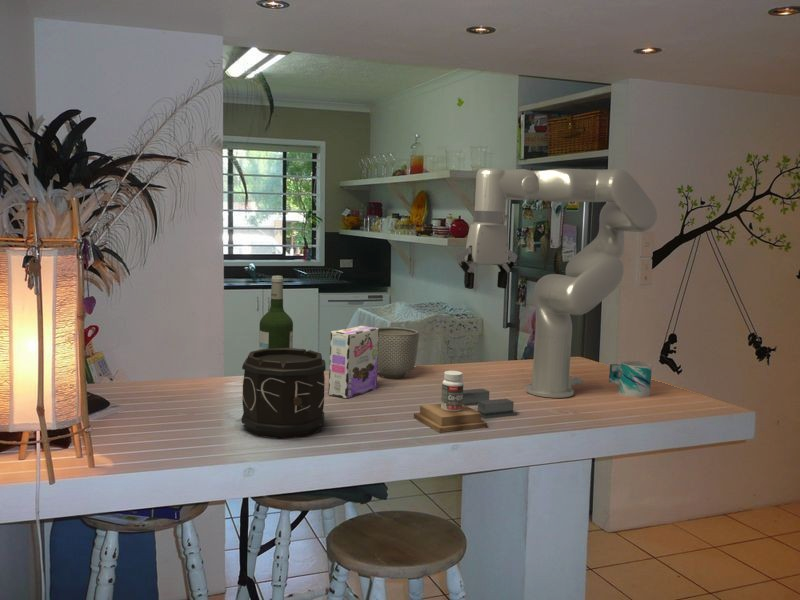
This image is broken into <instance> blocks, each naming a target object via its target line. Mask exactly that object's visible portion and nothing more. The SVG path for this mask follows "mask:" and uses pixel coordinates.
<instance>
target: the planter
mask: <svg viewBox="0 0 800 600" xmlns="http://www.w3.org/2000/svg"><path fill="white" fill-rule="evenodd" d="M378 328H379V337H378V364H377V373H378V374H379V375H380V377H382V378H385V379H392V380H393V379H402V378H405V377H406V375H407V374H408V373H410V372H411V371H412V370H414V368H415V365H416V362H417V355H418V349H419V341H420V331H418V330H417V329H414V328H410V327H401V326H398V327H397V326H384V327H383V326H381V327H378Z"/></svg>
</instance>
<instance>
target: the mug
mask: <svg viewBox="0 0 800 600" xmlns="http://www.w3.org/2000/svg"><path fill="white" fill-rule="evenodd" d="M652 373H653V364H651V363H649V362H645V361H640V360H639V361H638V360H625V361H621V362H620V364H618V363H613V364H609V373H608V374H609V375H608V376H609V378H608V382H609V383H611V384H615V385H618V394H620V395H622V396H624V397H625V396H626V397H630V398H639V399H642V398H643V399H644V398H650V394H651V385H652Z"/></svg>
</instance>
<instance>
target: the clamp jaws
mask: <svg viewBox="0 0 800 600" xmlns="http://www.w3.org/2000/svg"><path fill="white" fill-rule="evenodd" d="M462 404H463V405H465V406H474V405H477V411H478V412H480V413H481V418H484V419H491V418H493V419H495V418H501V417H511V416H512V417H513V416H518V411H515V410H514V404H515V403H514V401H513V400H511V399H509V398H500V399H490V391H489V390H487V389H486V388H485V389H484V388H475V389H472V388H471V389H463V400H462Z"/></svg>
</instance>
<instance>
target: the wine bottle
mask: <svg viewBox="0 0 800 600" xmlns="http://www.w3.org/2000/svg"><path fill="white" fill-rule="evenodd" d="M270 281H271V288H270V291H271V292H270V307H269V309H268V311H267V312H266V313H265V314H264V315H263V316H262V317H261V319H260V321H259V335H258V336H259V339H258V350H261V349H268V348H293V347H294V346H293V341H294V340H293V339H294V338H293V337H294V322H293V320H292V318H291V316H290V315H289V314H288V313H286V311H285V308H284V285H283V284H284V278H283V275H272V276H271V280H270Z"/></svg>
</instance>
